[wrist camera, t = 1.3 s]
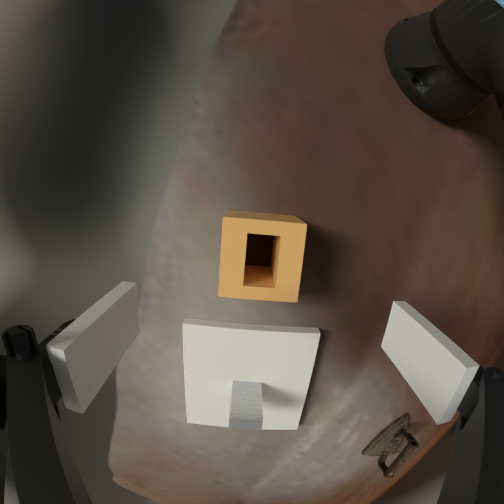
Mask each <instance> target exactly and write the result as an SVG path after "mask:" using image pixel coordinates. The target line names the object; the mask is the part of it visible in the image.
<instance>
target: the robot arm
mask: <svg viewBox="0 0 504 504" xmlns="http://www.w3.org/2000/svg"><path fill="white" fill-rule="evenodd" d="M385 55H386V59H387V63H388V66H389V68H390V71H391V73H392V75H393V77H394V79H395V80H396V82H397V84H398V85H399V87H400V88H401V89H402V91H403V92H404V93H405V94H406V96H407V97H408V98H409V99H410V100H411V101H412V102H413V103H414V104H415V105H416V106H418V107H419V108H420V109H422V110H423V111H424V112H426V113H427V114H429V115H431V116H433V117H435V118H438V119H442V120H456V119H460V118H464V117H466V116H468V115H470V114H472V113H473V112H474V111H475V109H476V108H477V107H478V106H479V105H480V104H481V103H482V102H483V101H484V100H486V99H487V98H488V97H489V96H490V95H493V94H494V95H495V98H496V100H497V103H498V106H499V109H500V112H501V114H502V117H503V120H504V0H444V1H443V2H442V3H441V4H440V5H438V6H437V7H436V8H435V9H434V10H433V11H431V12H427V13H423V14H420V15H418V16H413V17H408V18H405V19H403V20H401V21H399V22H398V23H397V24H396V25H395V26H394V27H393V28H392V29H391V30H390V31H389V33H388V35H387V37H386V40H385ZM139 332H140V328H139V316H138V301H137V283H132V282H124V281H123V282H122V283H120V284H119V285H118V286H116V287H115V288H114V289H113V290H111V291H110V292H109V293H108V294H107V295H105V296H104V297H103V298H102V299H100V300H99V301H98V302H97V303H95V304H94V305H93V306H92V307H90V308H89V309H88V310H87V311H85V312H84V313H83V314H82V315H81V316H79V317H78V318H77V319H72V320H70V321H68V322H65V323H64V324H62V325H61V326H60V327H59V328H58V329H57V330H55V331H54V332H53V333H52V334H50V335H49V336H48V337H47V338H46V339H44V340H43V341H42V342H41V343H40V344H37V340H36V336H35V332H34V329H33V328H32V327H30V326H27V325H16V326H12V327H10V328H7V329H6V330H5V331H4V332H3V333H2V340H3V343H4V346H5V349H6V353H7V356H6V355H0V504H4V487H5V473H6V464H7V455H8V448H9V449H10V457H11V464H12V470H13V475H14V481H15V486H16V490H17V494H18V499H19V503H20V504H93V503H92V501H91V499H90V497H89V495H88V492H87V490H86V488H85V485H84V483H83V480H82V478H81V476H80V473H79V470H78V468H77V465H76V462H75V459H74V456H73V454H72V451H71V448H70V445H69V441H68V439H67V435H66V431H65V428H64V424H63V420H62V417H61V413H60V409H59V406H58V404H57V402H58V401H59V399H60V398H61V397H62V398H63V400H64V403H65V406H66V408H68V409H71V410H73V411H76V412H79V413H82V414H83V413H84V412H85V410H86V409H87V407H88V406H89V404H90V403H91V401H92V400H93V398H94V397H95V395H96V394H97V392H98V391H99V389H100V388H101V386H102V385H103V383H104V382H105V381H106V379H107V378H108V376H109V375H110V373H111V372H112V370H113V369H114V368H115V366H116V365H117V363H118V362H119V360H120V359H121V358H122V356H123V355H124V353H125V352H126V350H127V349H128V348H129V346H130V345H131V343H132V342H133V341H134V339H135V338H136V336H137V335H138V334H139ZM381 347H382V349H383V350H384V351H385V352H386V354H387V355H388V356H389V358H390V359H391V361H392V362H393V363H394V365H395V366H396V367H397V369H398V370H399V371H400V373H401V374H402V375H403V377H404V378H405V380H406V381H407V382H408V384H409V385H410V386H411V388H412V389H413V391H414V392H415V393H416V395H417V396H418V398H419V399H420V401H421V402H422V403H423V405H424V406H425V408H426V409H427V411H428V412H429V413H430V415H431V416H432V418H433V419H434V421H435V422H436V424H437V425H438V424H442V423H445V422H448V421H451V419H452V418H453V416H454V414H455V412H456V411H457V410H458V411H459V412H460V413H461V415H460V417H459V418H458V420H457V422H456V423H455V425H454V427H453V428H452V430H451V431H450V433H449V435H451V434H452V433H453V432H454V431H455V435H454V442H453V447H452V451H451V456H450V460H449V464H448V468H447V472H446V476H445V479H444V483H443V486H442V490H441V492H440V496H439V499H438V502H437V504H504V372H503V371H501V370H499V369H497V368H492V367H489V368H486V369H485V370H484V369H483V368H482V367H481V366H480V365H479V364H478V363H477V362H476V361H475V360H473V359H472V358H471V357H470V356H468V354H467V353H466V352H464V351H463V350H462V349H461V348H460V347H459V346H458V345H456V344H455V343H454V342H453V341H452V340H450V339H449V338H448V337H447V336H446V335H445V334H443V333H442V332H441V331H440V330H439V329H438V328H436V327H435V326H434V325H433V324H432V323H431V322H429V321H428V320H427V319H426V318H425V317H423V316H422V315H421V314H420V313H419V312H417V311H416V310H415V309H414V308H412V307H411V306H410V305H409V304H408V303H406V302H405V301H393V305H392V309H391V313H390V317H389V320H388V324H387V328H386V331H385V335H384V338H383V342H382V345H381Z"/></svg>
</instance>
